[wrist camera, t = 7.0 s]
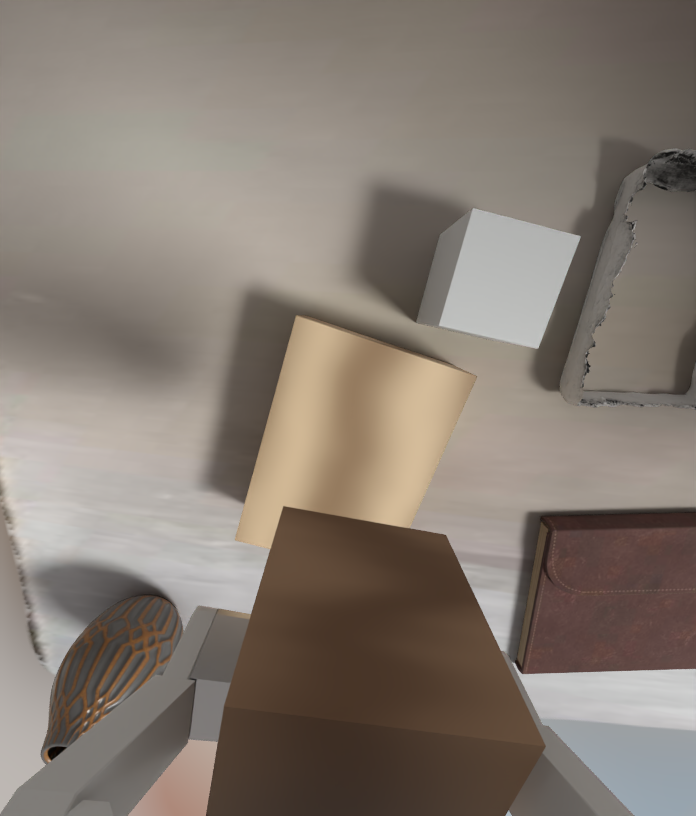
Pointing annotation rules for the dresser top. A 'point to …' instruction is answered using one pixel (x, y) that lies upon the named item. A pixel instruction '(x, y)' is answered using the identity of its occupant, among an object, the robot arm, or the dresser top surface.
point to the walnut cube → (369, 684)
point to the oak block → (351, 430)
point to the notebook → (611, 594)
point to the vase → (109, 666)
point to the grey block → (496, 278)
